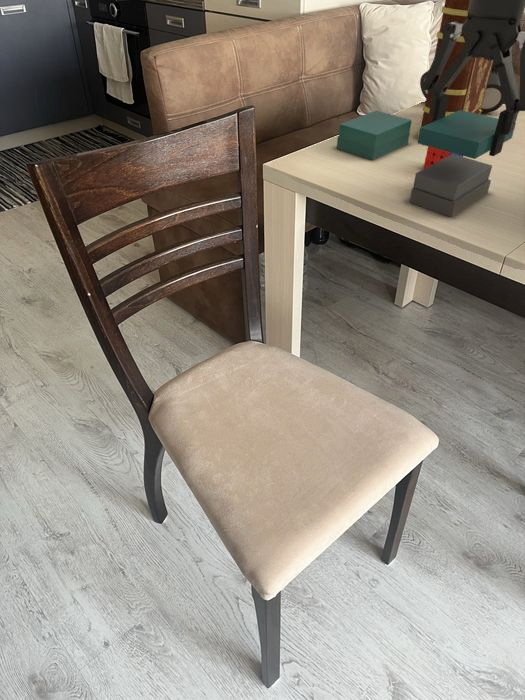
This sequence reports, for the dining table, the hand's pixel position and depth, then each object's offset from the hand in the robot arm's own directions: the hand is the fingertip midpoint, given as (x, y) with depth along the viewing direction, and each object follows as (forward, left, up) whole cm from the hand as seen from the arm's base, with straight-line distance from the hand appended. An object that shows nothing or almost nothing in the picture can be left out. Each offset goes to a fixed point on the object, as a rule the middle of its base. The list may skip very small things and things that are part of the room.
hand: (463, 145), depth 90 cm
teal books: (+24, -11, -9) cm, 28 cm away
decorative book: (+19, -33, -9) cm, 39 cm away
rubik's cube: (+8, -10, -9) cm, 16 cm away
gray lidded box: (0, 0, -9) cm, 9 cm away
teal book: (0, 0, +1) cm, 1 cm away
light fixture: (+26, -54, -10) cm, 61 cm away
